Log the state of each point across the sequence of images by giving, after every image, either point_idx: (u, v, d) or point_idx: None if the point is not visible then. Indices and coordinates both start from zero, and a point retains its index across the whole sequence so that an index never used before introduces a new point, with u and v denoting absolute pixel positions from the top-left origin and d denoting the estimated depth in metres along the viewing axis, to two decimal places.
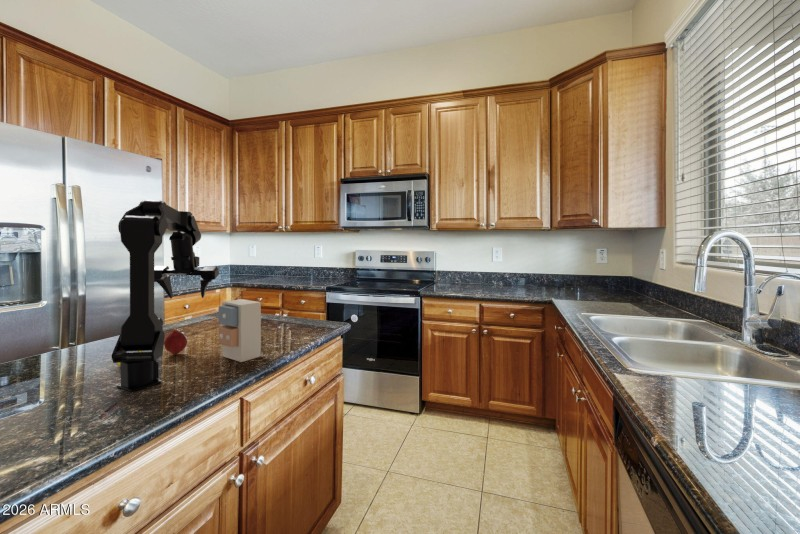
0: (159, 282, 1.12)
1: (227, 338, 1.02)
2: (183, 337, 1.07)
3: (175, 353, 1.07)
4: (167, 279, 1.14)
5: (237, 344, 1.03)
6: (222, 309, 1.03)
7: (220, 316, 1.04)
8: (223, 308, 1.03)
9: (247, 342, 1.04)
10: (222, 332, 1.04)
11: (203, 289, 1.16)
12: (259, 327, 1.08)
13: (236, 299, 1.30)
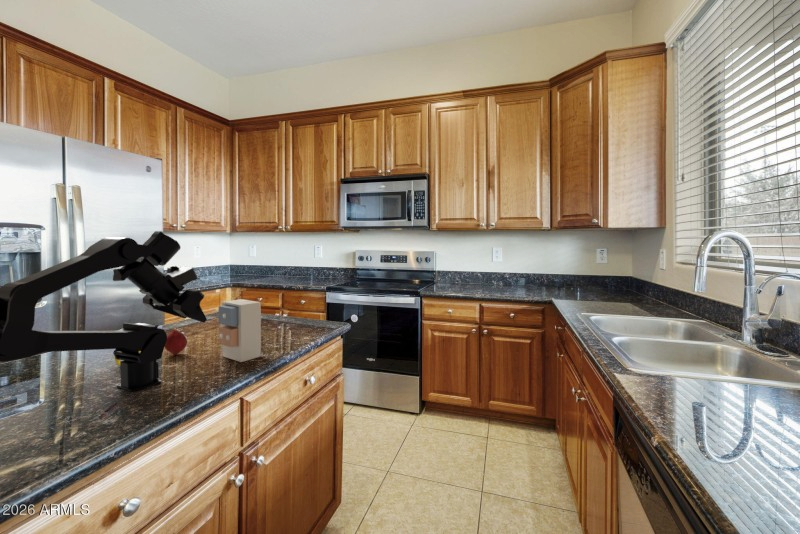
0: None
1: (227, 338, 1.02)
2: (183, 337, 1.07)
3: (175, 353, 1.07)
4: None
5: (237, 344, 1.03)
6: (222, 309, 1.03)
7: (220, 316, 1.04)
8: (223, 308, 1.03)
9: (247, 342, 1.04)
10: (222, 332, 1.04)
11: None
12: (259, 327, 1.08)
13: (236, 299, 1.30)
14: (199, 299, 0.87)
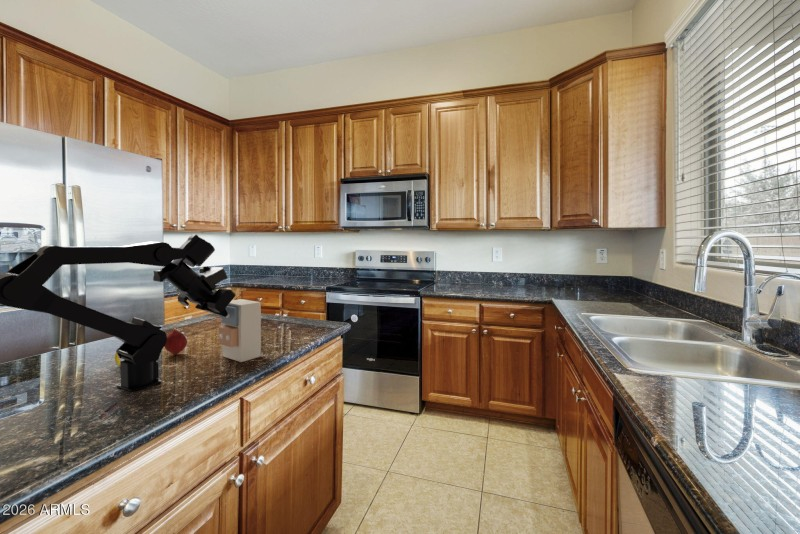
0: None
1: (227, 338, 1.02)
2: (183, 337, 1.07)
3: (175, 353, 1.07)
4: None
5: (237, 344, 1.03)
6: None
7: None
8: (226, 308, 1.04)
9: (247, 342, 1.04)
10: (222, 332, 1.04)
11: (215, 313, 0.99)
12: (259, 327, 1.08)
13: (236, 299, 1.30)
14: (231, 297, 0.94)
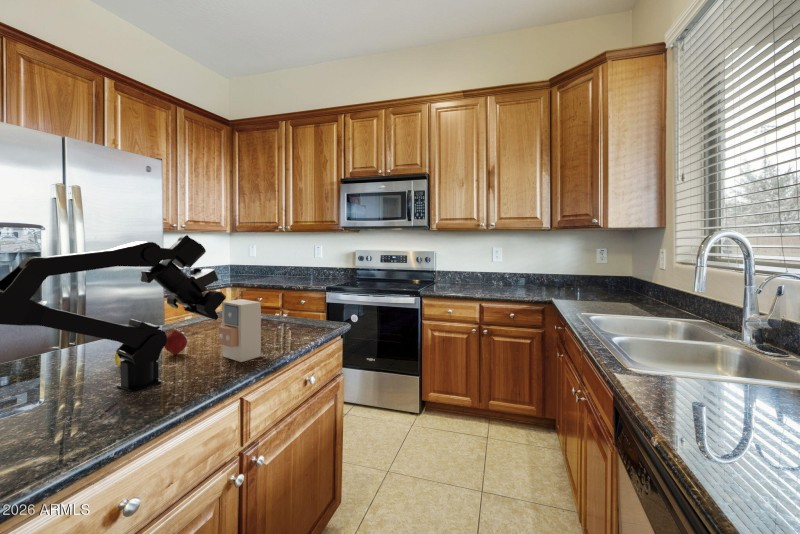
0: (189, 311, 0.96)
1: (227, 338, 1.02)
2: (183, 337, 1.07)
3: (175, 353, 1.07)
4: None
5: (237, 344, 1.03)
6: (228, 308, 1.05)
7: (226, 315, 1.05)
8: (229, 307, 1.04)
9: (247, 342, 1.04)
10: (222, 332, 1.04)
11: (205, 316, 0.97)
12: (259, 327, 1.08)
13: (236, 299, 1.30)
14: (221, 300, 0.92)
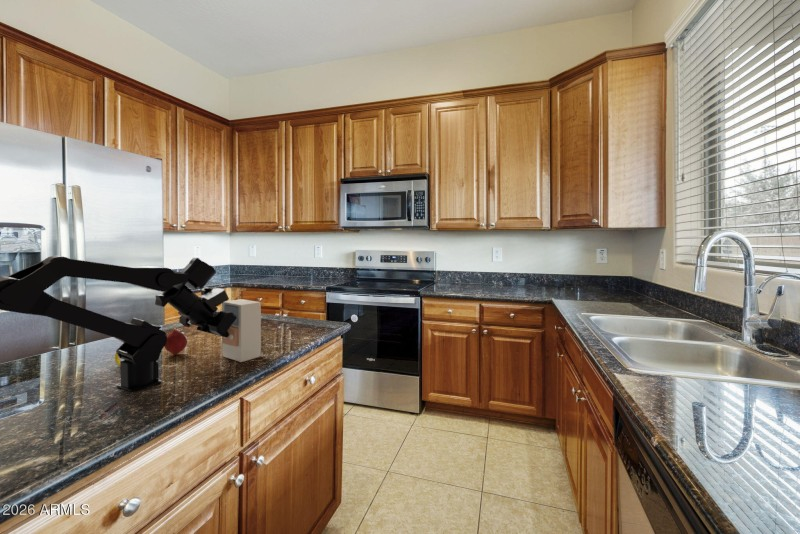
0: (201, 330, 0.99)
1: (230, 337, 1.03)
2: (183, 337, 1.07)
3: (175, 353, 1.07)
4: None
5: None
6: (228, 308, 1.05)
7: None
8: (229, 307, 1.04)
9: (247, 342, 1.04)
10: None
11: None
12: (259, 327, 1.08)
13: (236, 299, 1.30)
14: (232, 320, 0.95)
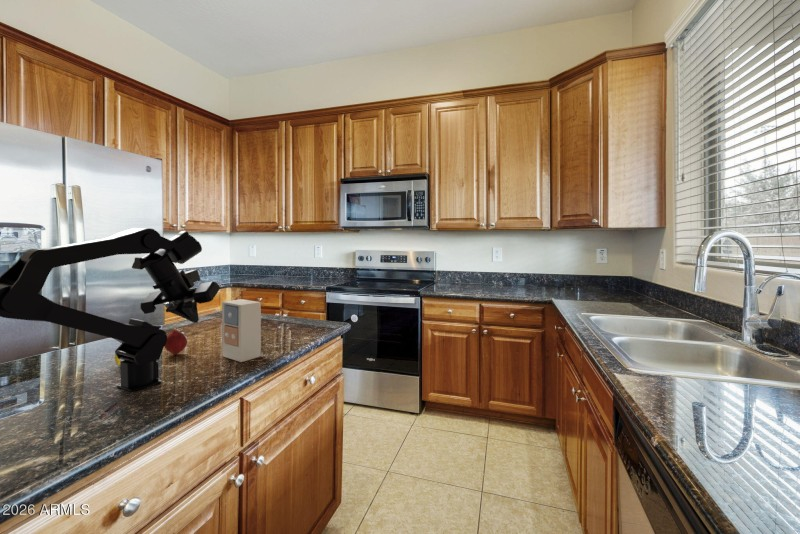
0: (172, 311, 0.92)
1: (233, 337, 1.04)
2: (183, 337, 1.07)
3: (175, 353, 1.07)
4: (181, 304, 0.94)
5: None
6: (228, 308, 1.05)
7: (226, 315, 1.05)
8: (229, 307, 1.04)
9: (247, 342, 1.04)
10: (228, 331, 1.05)
11: (190, 315, 0.94)
12: (259, 327, 1.08)
13: (236, 299, 1.30)
14: (217, 289, 0.94)
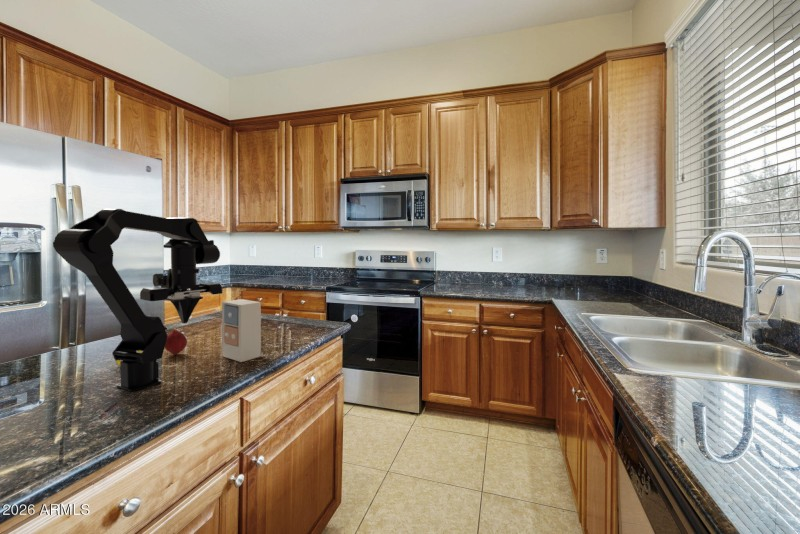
0: (182, 301, 0.94)
1: (233, 337, 1.04)
2: (183, 337, 1.07)
3: (175, 353, 1.07)
4: None
5: None
6: (228, 308, 1.05)
7: (226, 315, 1.05)
8: (229, 307, 1.04)
9: (247, 342, 1.04)
10: (228, 331, 1.05)
11: (192, 310, 0.97)
12: (259, 327, 1.08)
13: (236, 299, 1.30)
14: None
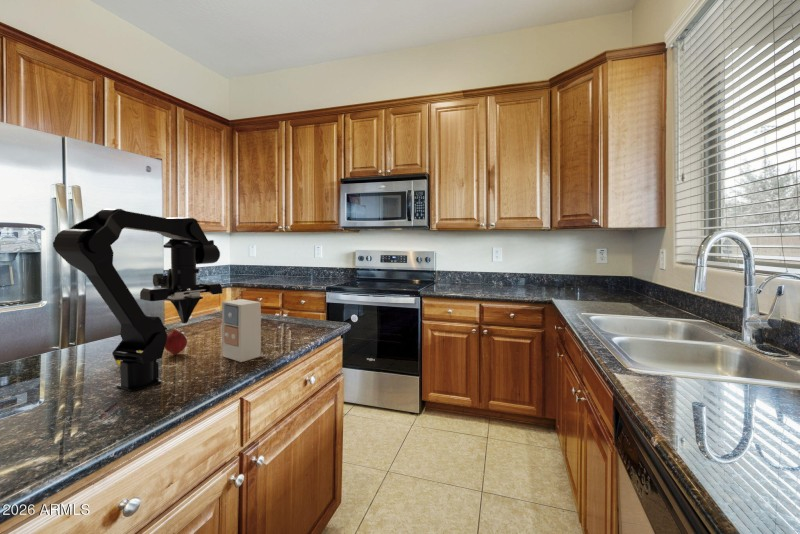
0: (182, 301, 0.94)
1: (233, 337, 1.04)
2: (183, 337, 1.07)
3: (175, 353, 1.07)
4: None
5: None
6: (228, 308, 1.05)
7: (226, 315, 1.05)
8: (229, 307, 1.04)
9: (247, 342, 1.04)
10: (228, 331, 1.05)
11: (192, 310, 0.97)
12: (259, 327, 1.08)
13: (236, 299, 1.30)
14: None
